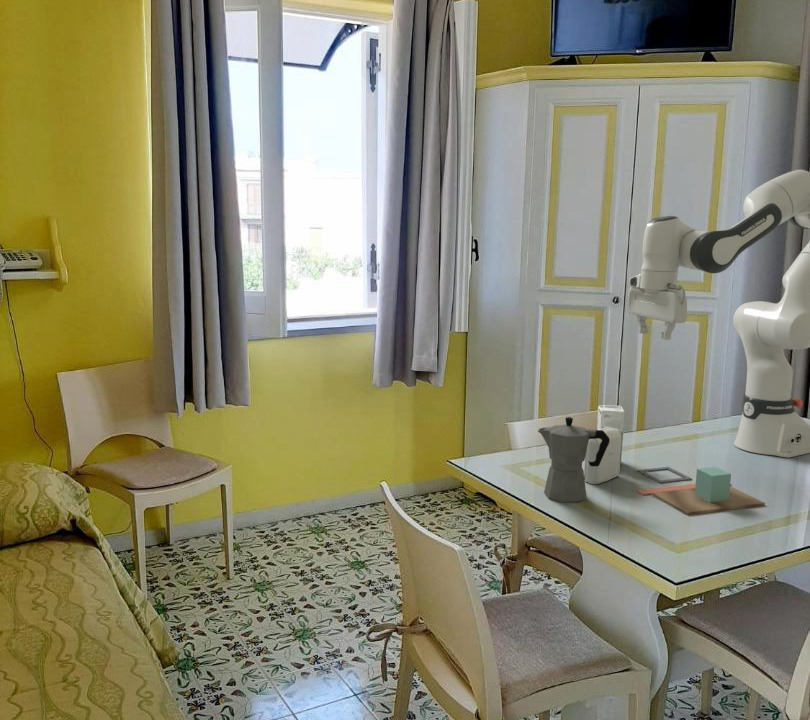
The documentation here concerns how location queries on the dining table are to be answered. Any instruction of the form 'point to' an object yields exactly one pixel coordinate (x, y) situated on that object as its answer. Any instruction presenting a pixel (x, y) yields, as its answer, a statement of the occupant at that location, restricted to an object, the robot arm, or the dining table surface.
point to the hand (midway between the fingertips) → (654, 336)
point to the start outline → (665, 480)
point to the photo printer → (609, 461)
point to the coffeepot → (569, 459)
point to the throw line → (666, 489)
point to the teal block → (712, 484)
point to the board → (696, 505)
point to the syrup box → (611, 419)
